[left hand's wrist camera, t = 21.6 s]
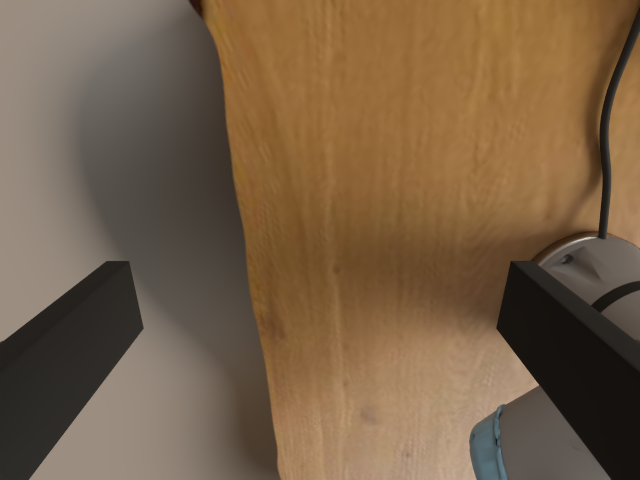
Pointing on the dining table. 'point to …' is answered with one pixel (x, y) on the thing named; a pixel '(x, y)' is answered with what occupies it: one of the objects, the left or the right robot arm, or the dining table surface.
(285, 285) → the dining table surface
